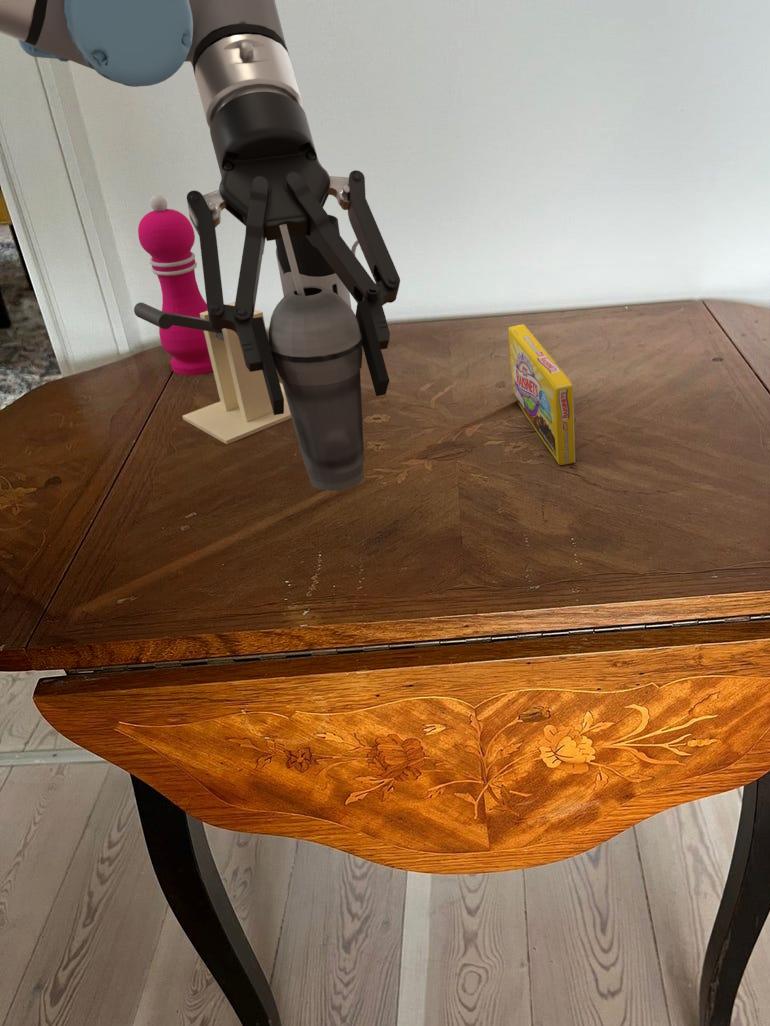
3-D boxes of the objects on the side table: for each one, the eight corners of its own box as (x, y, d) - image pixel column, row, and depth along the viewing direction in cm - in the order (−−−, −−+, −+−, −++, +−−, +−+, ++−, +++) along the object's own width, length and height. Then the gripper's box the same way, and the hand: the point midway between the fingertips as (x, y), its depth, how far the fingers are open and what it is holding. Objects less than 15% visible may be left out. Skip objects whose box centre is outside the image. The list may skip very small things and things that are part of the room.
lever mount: (228, 452, 98) (201, 340, 91) (184, 426, 103) (156, 319, 96) (322, 413, 104) (304, 305, 97) (276, 391, 110) (256, 287, 102)
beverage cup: (357, 505, 76) (319, 243, 63) (277, 492, 78) (225, 237, 65) (394, 463, 81) (366, 214, 68) (319, 452, 83) (278, 209, 71)
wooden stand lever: (157, 333, 89) (160, 307, 89) (132, 321, 92) (135, 296, 92) (257, 349, 98) (261, 325, 97) (231, 337, 101) (235, 314, 100)
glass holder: (310, 333, 123) (290, 210, 114) (411, 342, 119) (398, 215, 110) (277, 359, 117) (252, 231, 108) (382, 369, 113) (366, 237, 103)
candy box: (510, 399, 104) (507, 325, 99) (528, 396, 105) (527, 322, 100) (555, 467, 92) (555, 386, 87) (576, 463, 92) (577, 382, 87)
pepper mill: (239, 372, 114) (200, 194, 102) (182, 389, 111) (134, 207, 99) (216, 354, 119) (176, 182, 107) (161, 370, 116) (113, 195, 104)
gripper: (114, 100, 68) (191, 402, 65) (388, 72, 72) (467, 353, 70) (130, 166, 75) (200, 440, 73) (378, 137, 79) (450, 393, 77)
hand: (331, 397), depth 71 cm, fingers closed on beverage cup, 7 cm apart
